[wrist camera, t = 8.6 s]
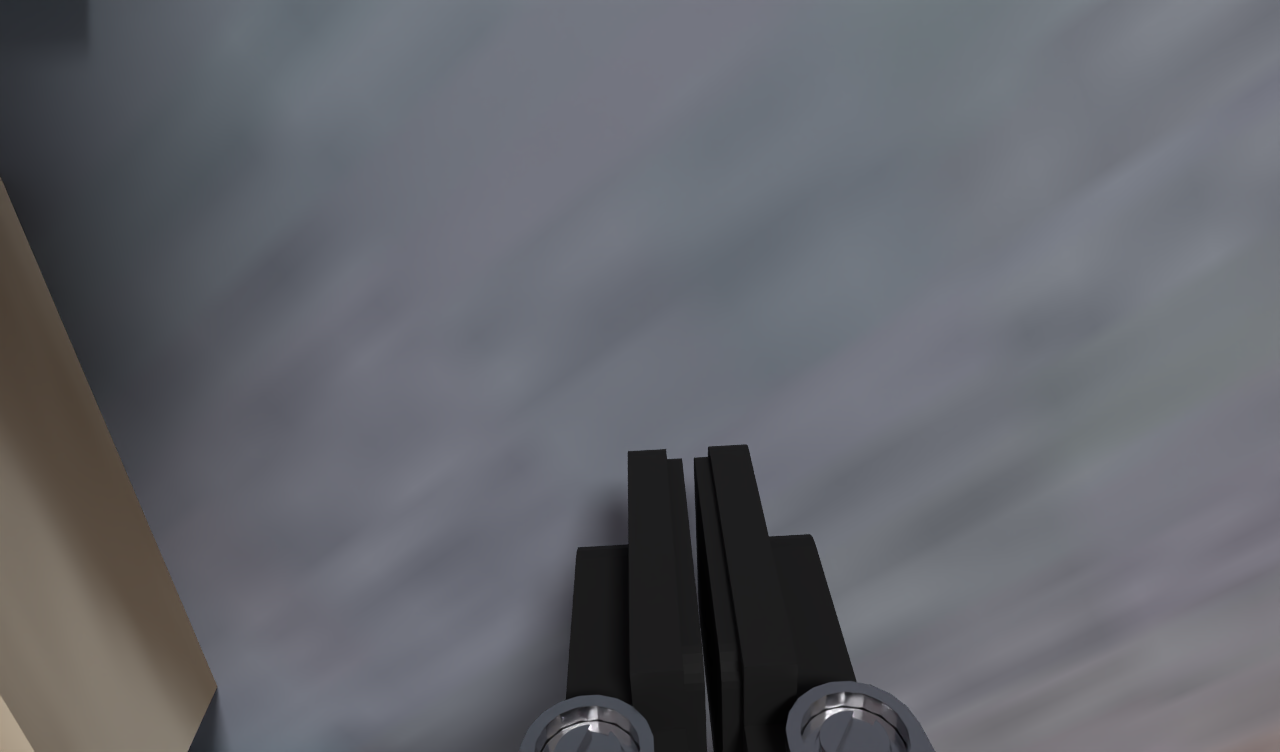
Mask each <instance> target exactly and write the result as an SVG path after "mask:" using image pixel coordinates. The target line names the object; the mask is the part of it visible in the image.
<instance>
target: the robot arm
mask: <svg viewBox="0 0 1280 752" xmlns="http://www.w3.org/2000/svg"><path fill="white" fill-rule="evenodd" d="M694 482H695V511H696V540H697V570H698V599H699V615H698V605H697V596H696V587H695V577H694V568H693V558H692V549H691V539H690V530H689V521H688V511H687V502H686V492H685V483H684V473H683V464H682V459H667V455H666V449H660V450H643V451H628V530H629V545H613V546H596V547H578V549H577V554H576V566H575V580H574V594H573V608H572V622H571V636H570V650H569V664H568V678H567V692H566V700H564V701H561V702H559V703H557V704H556V705H554V706H552V707H551V708H549V709H548V710H546V711H544V712H543V713H542V714H541V715H540V716H539V717H538V718H537V719H536V720H535V721H534V722H533V723H532V725H531V726H530V727H529V728H528V731H527V733H526V735H525V737H524V739H523V741H522V743H521V746H520V749H519V752H707V741H706V710H705V682H704V666H705V675H706V684H707V694H708V703H709V712H710V722H711V731H712V740H713V750H714V752H935V750H934V748H933V747H932V745H931V743H930V741H929V739H928V737H927V736H926V734H925V732H924V730H923V728H922V727H921V725H920V723H919V721H918V720H917V719H916V718H915V716H914V715H913V714H912V712H911V711H910V710H909V708H908V707H907V706H906V705H905V704H903V703H902V702H901V701H899V700H898V699H897V698H895V697H894V696H893V695H892V694H890V693H888V692H886V691H883V690H881V689H879V688H877V687H874V686H872V685H868V684H863V683H858V682H856V678H855V675H854V672H853V668H852V665H851V662H850V658H849V655H848V652H847V648H846V645H845V641H844V638H843V635H842V631H841V628H840V625H839V621H838V618H837V615H836V611H835V608H834V605H833V601H832V598H831V595H830V591H829V588H828V585H827V581H826V578H825V575H824V571H823V568H822V565H821V561H820V558H819V555H818V551H817V548H816V545H815V542H814V540H813V537H812V536H811V535H810V534H806V535H789V536H771V537H769V536H768V531H767V527H766V522H765V518H764V514H763V509H762V505H761V501H760V496H759V492H758V488H757V483H756V479H755V475H754V470H753V466H752V462H751V457H750V453H749V449H748V445H729V446H712V447H708V457H699V458H694ZM699 616H700V624H699ZM700 628H701V634H700ZM701 637H702V643H701ZM702 647H703V654H702ZM703 656H704V666H703Z"/></svg>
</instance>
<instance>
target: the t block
mask: <svg viewBox="0 0 1280 752" xmlns="http://www.w3.org/2000/svg"><path fill="white" fill-rule="evenodd" d="M216 688H217V685H216V682H215V680H214V678H213V675H212V673H211V671H210V668H209V666H208V664H207V661H206V659H205V656H204V654H203V652H202V649H201V647H200V645H199V642H198V640H197V638H196V635H195V633H194V631H193V628H192V626H191V624H190V621H189V619H188V617H187V614H186V612H185V609H184V607H183V605H182V602H181V600H180V598H179V595H178V593H177V591H176V588H175V586H174V584H173V581H172V579H171V577H170V574H169V572H168V570H167V567H166V565H165V562H164V560H163V558H162V555H161V553H160V551H159V548H158V546H157V544H156V541H155V539H154V537H153V534H152V532H151V530H150V527H149V525H148V523H147V520H146V518H145V515H144V513H143V511H142V508H141V506H140V504H139V501H138V499H137V497H136V494H135V492H134V490H133V487H132V485H131V483H130V480H129V478H128V476H127V473H126V471H125V468H124V466H123V464H122V461H121V459H120V457H119V454H118V452H117V450H116V447H115V445H114V443H113V440H112V438H111V436H110V433H109V431H108V429H107V426H106V424H105V421H104V419H103V417H102V414H101V412H100V410H99V407H98V405H97V403H96V400H95V398H94V396H93V393H92V391H91V389H90V386H89V384H88V382H87V379H86V377H85V374H84V372H83V370H82V367H81V365H80V363H79V360H78V358H77V356H76V353H75V351H74V349H73V346H72V344H71V342H70V339H69V337H68V335H67V332H66V330H65V327H64V325H63V323H62V320H61V318H60V316H59V313H58V311H57V309H56V306H55V304H54V302H53V299H52V297H51V295H50V292H49V290H48V288H47V285H46V283H45V280H44V278H43V276H42V273H41V271H40V269H39V266H38V264H37V262H36V259H35V257H34V255H33V252H32V250H31V248H30V245H29V243H28V241H27V238H26V236H25V233H24V231H23V229H22V226H21V224H20V222H19V219H18V217H17V215H16V212H15V210H14V208H13V205H12V203H11V201H10V198H9V196H8V194H7V191H6V189H5V186H4V184H3V182H2V179H1V177H0V752H188V750H189V748H190V745H191V743H192V741H193V739H194V737H195V734H196V732H197V730H198V728H199V726H200V724H201V721H202V719H203V717H204V715H205V713H206V710H207V708H208V706H209V704H210V702H211V699H212V697H213V695H214V693H215V691H216Z"/></svg>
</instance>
